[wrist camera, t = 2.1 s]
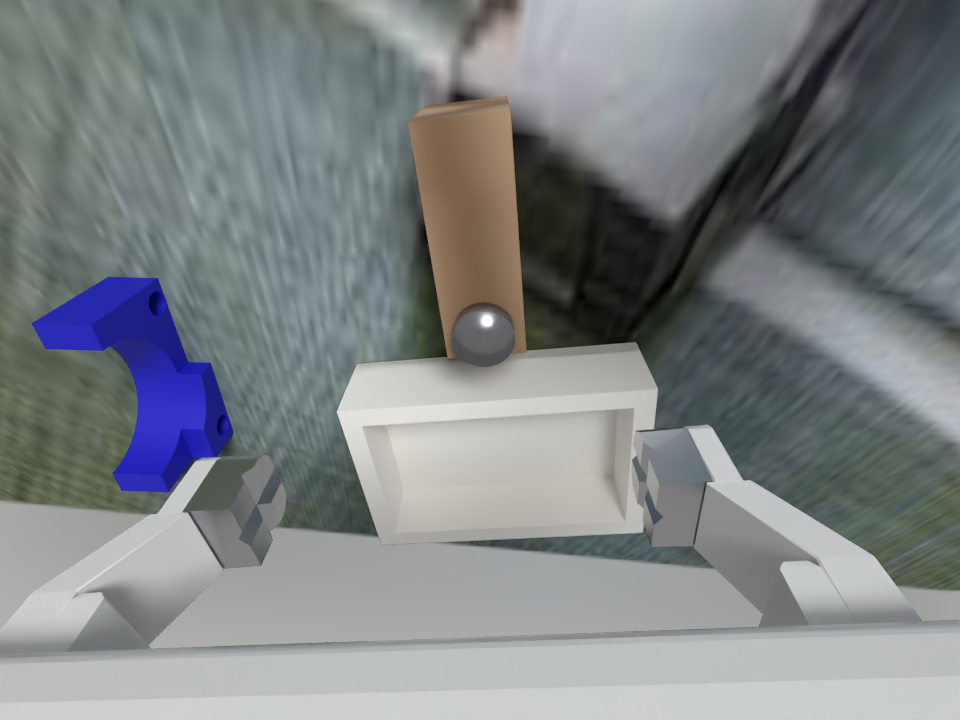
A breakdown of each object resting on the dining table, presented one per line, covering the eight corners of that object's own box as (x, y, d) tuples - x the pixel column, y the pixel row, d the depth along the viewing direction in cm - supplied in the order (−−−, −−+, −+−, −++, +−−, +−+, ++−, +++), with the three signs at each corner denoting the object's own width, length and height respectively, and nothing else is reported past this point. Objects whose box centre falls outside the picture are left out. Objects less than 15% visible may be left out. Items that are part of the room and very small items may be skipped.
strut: (506, 95, 24) (511, 113, 18) (521, 300, 30) (527, 363, 24) (425, 105, 24) (403, 126, 18) (455, 305, 30) (446, 369, 24)
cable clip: (234, 430, 36) (192, 492, 31) (173, 428, 36) (121, 490, 31) (184, 277, 30) (120, 325, 25) (110, 275, 30) (31, 323, 25)
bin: (636, 342, 31) (658, 389, 27) (626, 477, 38) (642, 532, 33) (357, 363, 33) (336, 411, 28) (393, 490, 39) (381, 545, 35)
